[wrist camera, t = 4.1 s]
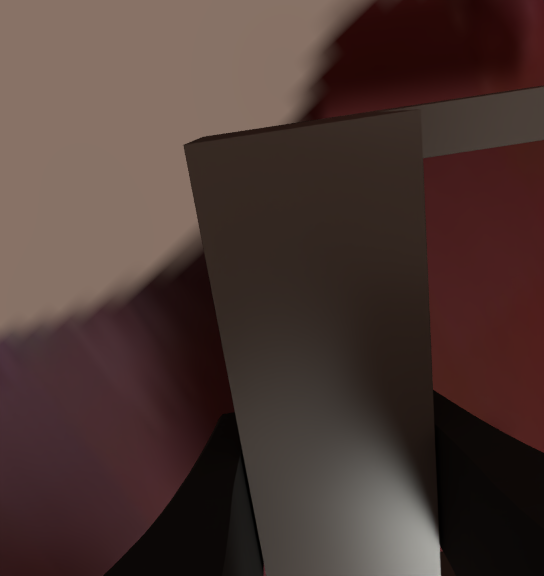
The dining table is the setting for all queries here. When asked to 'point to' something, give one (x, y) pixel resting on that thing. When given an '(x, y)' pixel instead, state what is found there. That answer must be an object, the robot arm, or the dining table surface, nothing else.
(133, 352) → the dining table surface
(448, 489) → the robot arm
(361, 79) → the dining table surface
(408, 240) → the grey boxy piece
